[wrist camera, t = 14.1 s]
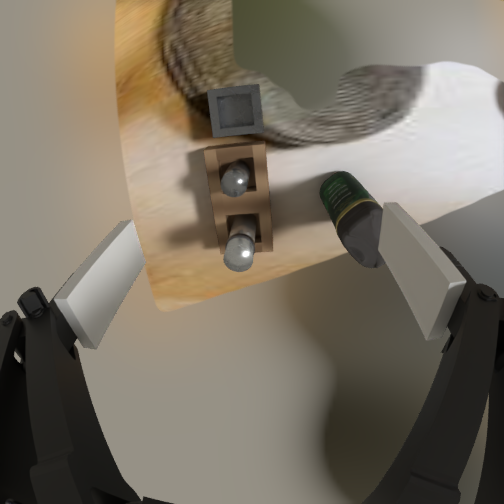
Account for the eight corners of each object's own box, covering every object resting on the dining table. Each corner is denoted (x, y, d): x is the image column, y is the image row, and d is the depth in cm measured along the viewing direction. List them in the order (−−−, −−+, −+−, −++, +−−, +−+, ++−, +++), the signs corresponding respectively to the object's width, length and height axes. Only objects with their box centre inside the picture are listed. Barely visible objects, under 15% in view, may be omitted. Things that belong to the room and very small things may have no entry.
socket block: (212, 91, 41) (207, 90, 37) (259, 85, 40) (258, 84, 37) (217, 134, 45) (213, 137, 42) (263, 129, 45) (263, 132, 41)
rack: (208, 146, 47) (203, 150, 43) (264, 140, 46) (264, 144, 42) (223, 243, 57) (220, 254, 53) (272, 240, 56) (273, 251, 53)
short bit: (226, 161, 47) (218, 173, 40) (249, 159, 47) (245, 171, 40) (229, 182, 49) (222, 198, 42) (251, 181, 49) (248, 196, 42)
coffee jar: (311, 191, 50) (331, 239, 34) (343, 163, 47) (379, 200, 31) (342, 224, 53) (370, 282, 37) (372, 199, 50) (413, 249, 34)
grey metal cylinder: (231, 211, 52) (220, 247, 41) (256, 209, 51) (252, 245, 40) (234, 233, 54) (225, 273, 43) (258, 232, 54) (255, 271, 43)
